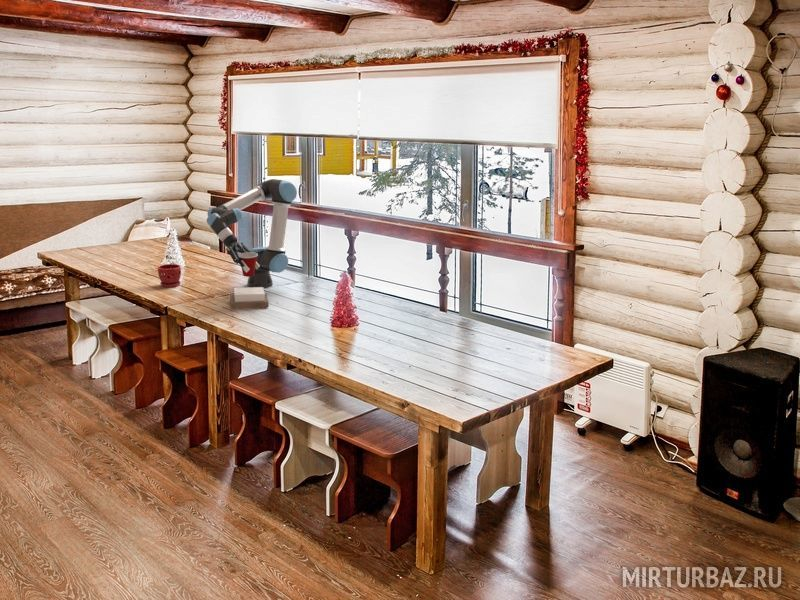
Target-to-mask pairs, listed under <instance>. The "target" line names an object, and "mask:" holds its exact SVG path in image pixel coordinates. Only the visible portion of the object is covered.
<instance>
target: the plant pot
mask: <svg viewBox="0 0 800 600" xmlns="http://www.w3.org/2000/svg"><path fill="white" fill-rule="evenodd" d="M157 273H158V278H159V280H160V284H159V285H161V287H164V288H176V287H178V286H180V285H181V281H180V279H181V274H182V267H181V265H180V264H177V263H176V264H174V263H168V264H162V265H159V266H158V267H157ZM175 286H176V287H175Z"/></svg>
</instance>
